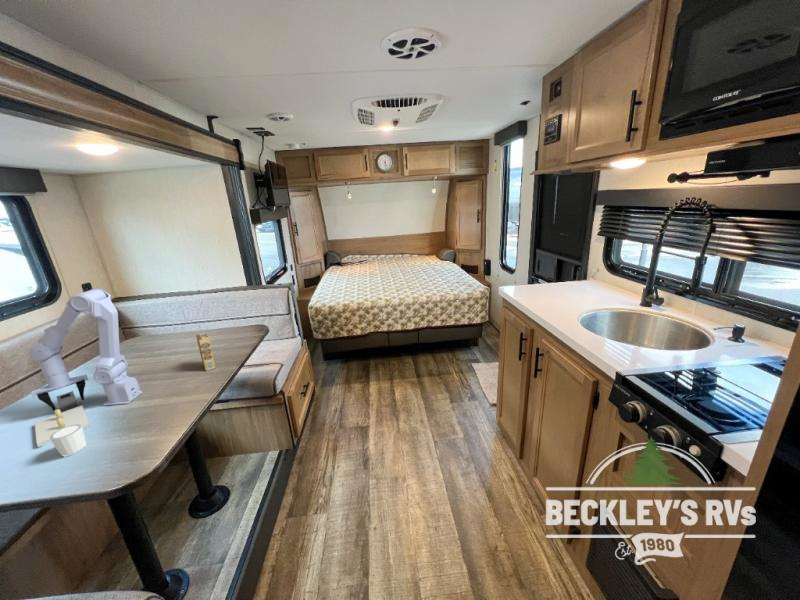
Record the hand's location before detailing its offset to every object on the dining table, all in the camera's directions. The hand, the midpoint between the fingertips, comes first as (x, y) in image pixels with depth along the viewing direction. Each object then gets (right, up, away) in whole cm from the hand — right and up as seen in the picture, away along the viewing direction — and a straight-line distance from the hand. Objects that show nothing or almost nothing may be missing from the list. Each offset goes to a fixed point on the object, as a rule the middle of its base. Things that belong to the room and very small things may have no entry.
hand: (68, 404), depth 118 cm
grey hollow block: (0, -1, 0) cm, 1 cm away
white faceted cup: (+26, -7, -23) cm, 35 cm away
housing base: (+10, -4, -11) cm, 15 cm away
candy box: (+38, +9, +27) cm, 47 cm away
